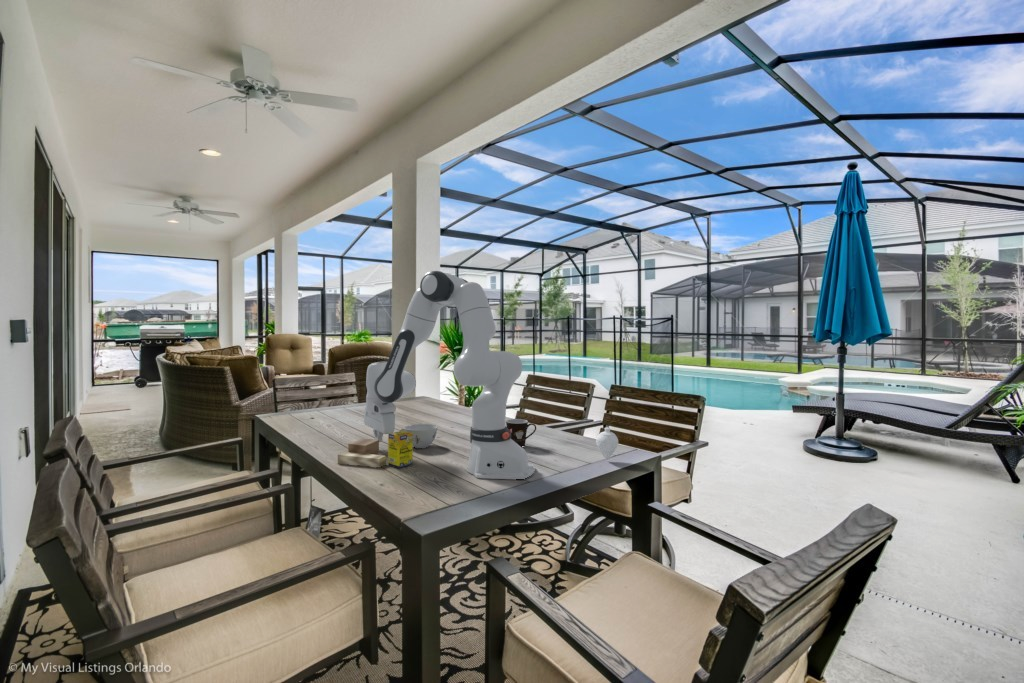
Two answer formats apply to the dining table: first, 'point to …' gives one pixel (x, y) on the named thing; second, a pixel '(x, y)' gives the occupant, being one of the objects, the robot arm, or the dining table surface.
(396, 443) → the supplement box
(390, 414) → the robot arm
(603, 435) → the spinning top
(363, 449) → the block
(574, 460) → the dining table surface
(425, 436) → the teacup
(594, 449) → the dining table surface
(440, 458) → the dining table surface
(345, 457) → the beige long bar
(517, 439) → the coffee mug
